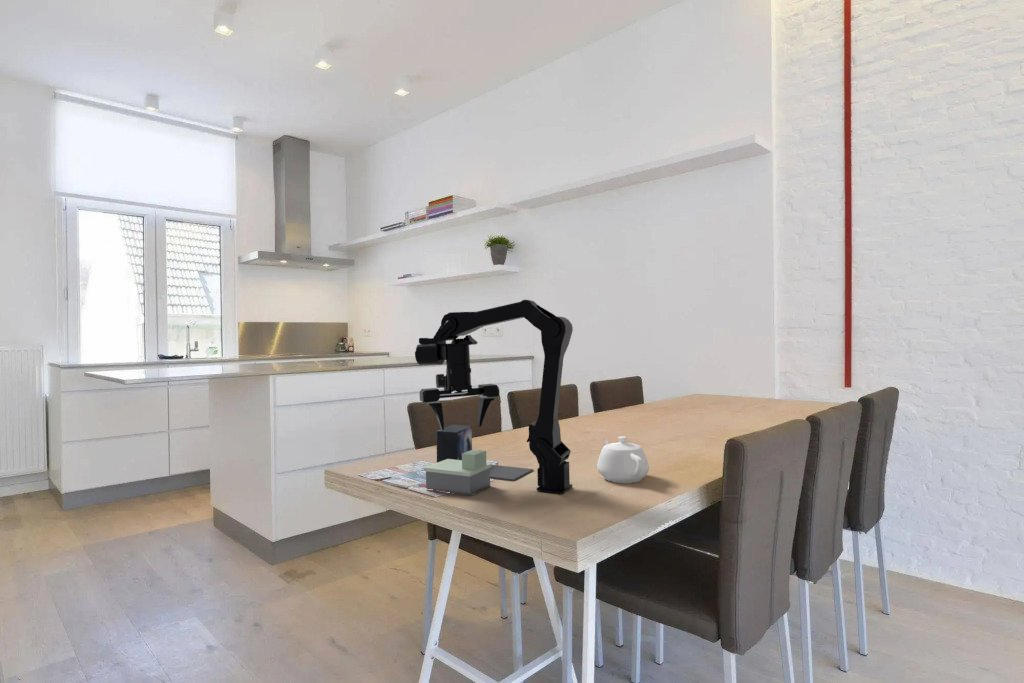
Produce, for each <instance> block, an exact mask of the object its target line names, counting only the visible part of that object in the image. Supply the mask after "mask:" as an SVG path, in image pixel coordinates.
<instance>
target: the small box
mask: <svg viewBox="0 0 1024 683" xmlns="http://www.w3.org/2000/svg"><path fill="white" fill-rule="evenodd" d="M472 428H473V426H472V425H465V424H464V425H463V424H451V425H447V426H446V427H445V426H444V430H443V431H442V430H441V428H440V429H438V430H436V463H438V462H440V461H443V460H446V459H454V460H462V454H463V453H465V452H468V451H471V450H473V429H472Z"/></svg>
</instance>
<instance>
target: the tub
mask: <svg viewBox="0 0 1024 683" xmlns="http://www.w3.org/2000/svg"><path fill="white" fill-rule="evenodd" d="M425 484H426V485H425V488H427V489H433V490H439V491H445V492H450V493H454V494H453V495H457V494H458V496H466V497H472V496H473V494H474V495H476V494H477V492H478V493H480V492H482V491H483V490H485V489H487V488H489V487H491V478H490V468H488V469H486V470H484V471H481V472H479V473H477V474H475V475H472V476H470V477H469V476H461V475H452V474H444V473H436V472H428V471H425ZM481 490H482V491H481ZM479 491H480V492H479ZM450 493H449V494H450ZM475 493H476V494H475ZM471 495H472V496H471Z"/></svg>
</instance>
